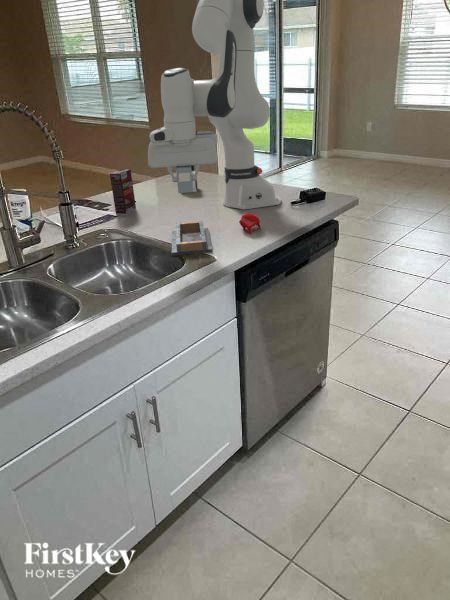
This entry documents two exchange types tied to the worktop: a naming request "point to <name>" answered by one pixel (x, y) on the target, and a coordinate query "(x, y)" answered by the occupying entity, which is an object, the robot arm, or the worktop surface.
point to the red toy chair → (249, 221)
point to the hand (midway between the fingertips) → (184, 180)
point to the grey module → (184, 179)
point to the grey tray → (190, 239)
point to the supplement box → (123, 192)
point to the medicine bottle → (194, 181)
